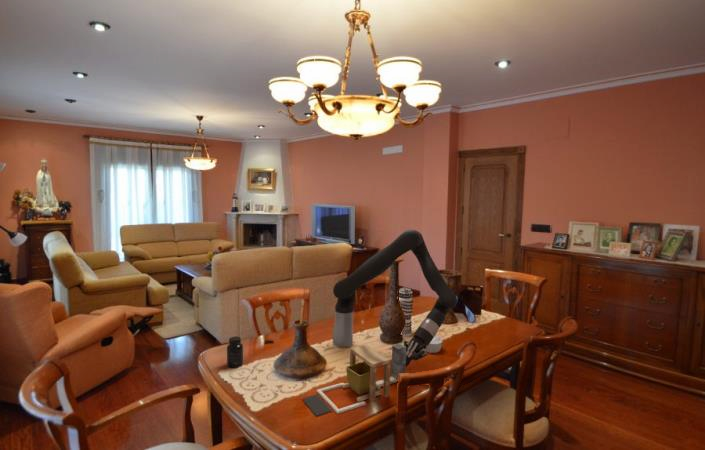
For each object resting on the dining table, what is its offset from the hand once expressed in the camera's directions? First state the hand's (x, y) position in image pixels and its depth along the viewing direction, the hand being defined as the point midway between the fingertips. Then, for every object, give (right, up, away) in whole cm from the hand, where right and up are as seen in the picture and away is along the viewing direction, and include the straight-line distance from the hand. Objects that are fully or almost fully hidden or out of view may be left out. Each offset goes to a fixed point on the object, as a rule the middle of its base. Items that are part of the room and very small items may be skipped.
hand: (403, 365), depth 154 cm
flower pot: (-18, -6, -9) cm, 21 cm away
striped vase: (+7, -2, +51) cm, 52 cm away
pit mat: (-34, -7, -20) cm, 40 cm away
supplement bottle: (-72, -3, +9) cm, 73 cm away
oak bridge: (-15, -6, -8) cm, 18 cm away
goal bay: (-25, -6, -15) cm, 30 cm away
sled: (-11, -6, -6) cm, 14 cm away
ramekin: (+18, -4, +31) cm, 36 cm away
